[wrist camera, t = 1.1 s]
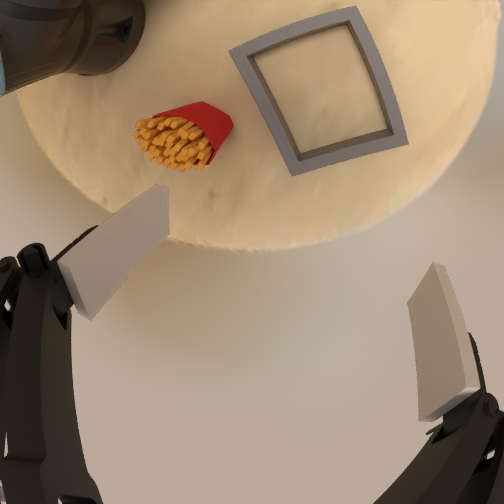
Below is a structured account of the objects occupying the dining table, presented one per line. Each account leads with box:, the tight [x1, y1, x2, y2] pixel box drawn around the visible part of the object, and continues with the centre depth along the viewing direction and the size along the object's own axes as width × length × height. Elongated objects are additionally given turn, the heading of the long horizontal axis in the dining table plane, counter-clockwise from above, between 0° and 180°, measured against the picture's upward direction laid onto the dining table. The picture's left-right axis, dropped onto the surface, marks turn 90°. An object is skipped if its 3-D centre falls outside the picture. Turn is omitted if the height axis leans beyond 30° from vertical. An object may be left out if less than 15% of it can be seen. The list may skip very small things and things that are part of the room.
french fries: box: [132, 102, 233, 172], centre depth 28 cm, size 8×4×12 cm, turn 60°
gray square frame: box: [228, 6, 409, 176], centre depth 26 cm, size 17×15×3 cm
